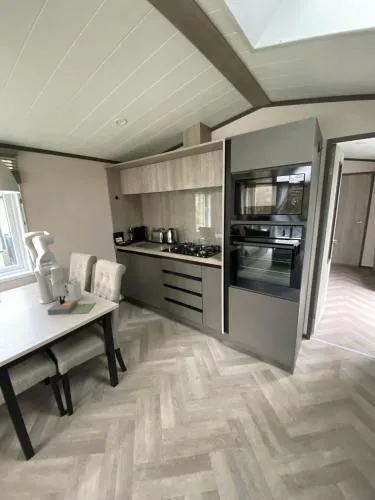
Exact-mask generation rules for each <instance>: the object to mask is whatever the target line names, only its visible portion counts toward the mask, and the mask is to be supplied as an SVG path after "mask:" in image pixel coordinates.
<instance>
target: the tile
mask: <svg viewBox="0 0 375 500" xmlns="http://www.w3.org/2000/svg"><path fill="white" fill-rule="evenodd" d="M65 301H66V302H65V303H64V304H62V307H71V306H72V305H73V304H74V303H75V300H70V299H68V300H65Z"/></svg>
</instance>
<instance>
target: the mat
mask: <svg viewBox="0 0 375 500" xmlns="http://www.w3.org/2000/svg"><path fill="white" fill-rule="evenodd" d="M95 305H96V302H91V303H88V302H87V303H78V305H77V306H76V307H75V308H74V309H73V310H72V311H71V312H70V313H69V314H68V315H81V314H82V315H83V314H89V312H90V311H91V310H92V309H93V308H94V306H95Z"/></svg>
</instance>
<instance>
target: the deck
mask: <svg viewBox="0 0 375 500" xmlns="http://www.w3.org/2000/svg"><path fill="white" fill-rule="evenodd" d="M66 301H67V300H65V302H66ZM78 302H79V300H78V301H75V303H74V304H73V305H72V306H71V307H62V305H61V304H60V300H59V301H56V302H55V303H54V304H53V305H52V306H50V307H49V308H48V309H46V311H47V315H48V316H49V315H50V316H51V315H52V316H53V315H70V314H69V313H70V312H71V311H72V310H73V309H74V308H75V307H76V306H77V305H78V304H79V303H78Z"/></svg>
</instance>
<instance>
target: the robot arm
mask: <svg viewBox="0 0 375 500" xmlns="http://www.w3.org/2000/svg"><path fill="white" fill-rule="evenodd" d="M22 241H23V243H24V245H25V246H26V248H27V249H28V251H29V255H30V257H31V261H32V263H33V264H34V265H35V266H36V267H35V268H34V269H33V272H34V275H35V278H36V282H37V286H38V289H39V294H40V298H41V299H40V300H39V304H42V305H45V304H51V303H53V302H55V301H56V300H57V299H58V300H59V301H60V304H61V305H62V304H64V303H65V301H66V300H65V299H66V298H69V291H68V287H67V283H66V280H65V279H64V274H63V268H62V266H60V264H58V263H57V260H56V257H55V254H54V253H53V251H51V249H50V247H49V246H51V245H54V243H55V239H54V237H53V235H52V234H51V233H49V232H48V231H46V230H39V231H31V232H27V233H24V234H23V235H22ZM48 276H51V279H50V278H49V277H48Z"/></svg>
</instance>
